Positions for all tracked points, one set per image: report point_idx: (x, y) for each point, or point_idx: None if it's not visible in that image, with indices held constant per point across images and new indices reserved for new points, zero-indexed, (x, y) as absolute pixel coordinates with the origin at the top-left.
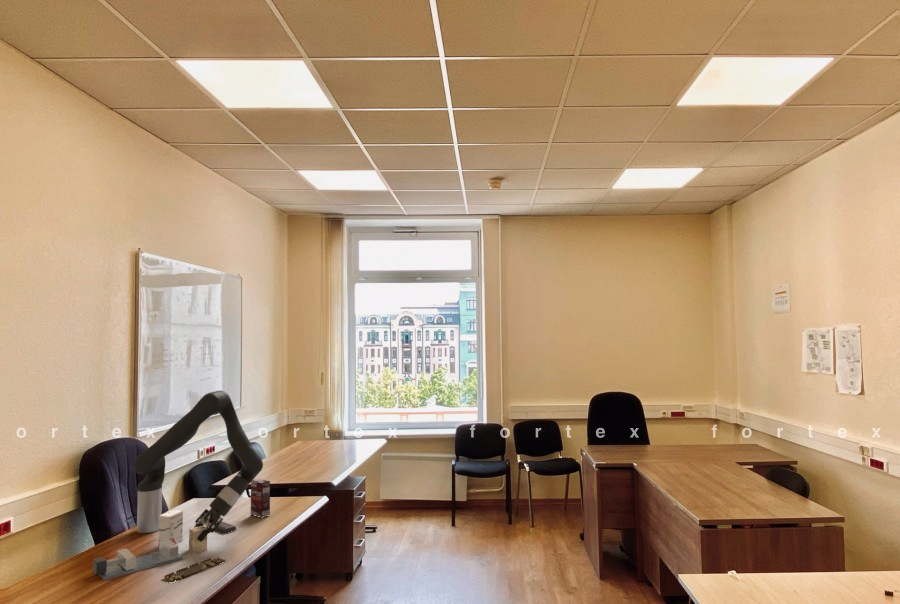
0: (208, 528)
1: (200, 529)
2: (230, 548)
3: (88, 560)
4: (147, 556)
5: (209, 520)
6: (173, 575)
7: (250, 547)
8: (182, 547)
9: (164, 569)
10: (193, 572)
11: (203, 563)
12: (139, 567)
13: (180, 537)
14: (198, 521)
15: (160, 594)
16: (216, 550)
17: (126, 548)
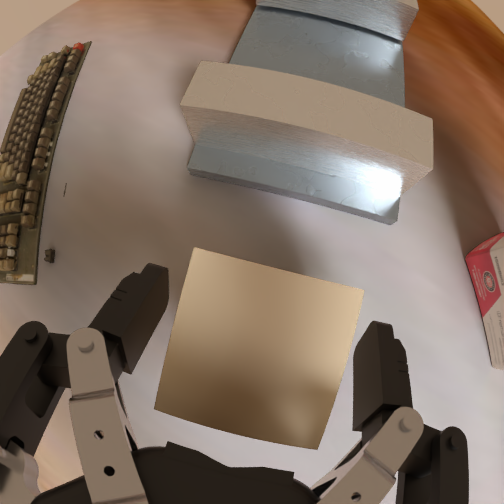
0: (28, 328)
1: (187, 341)
2: None
3: (499, 54)
4: (377, 88)
5: (80, 449)
6: (54, 63)
7: (38, 458)
8: (398, 302)
9: (160, 71)
10: (11, 119)
11: (16, 179)
12: (257, 16)
13: (501, 353)
14: (401, 448)
15: (34, 33)
16: (133, 377)
17: (416, 7)
